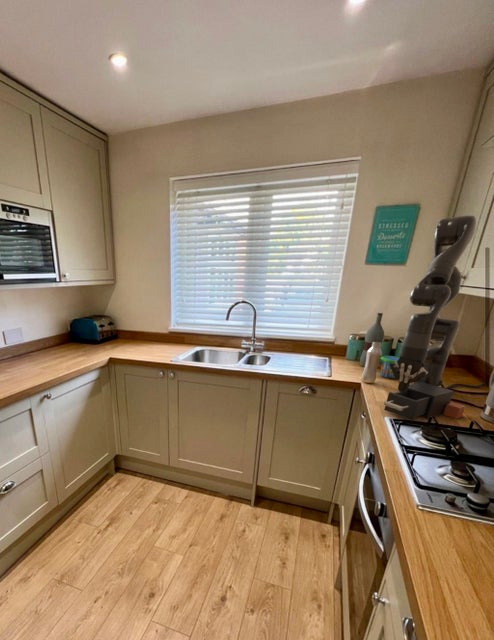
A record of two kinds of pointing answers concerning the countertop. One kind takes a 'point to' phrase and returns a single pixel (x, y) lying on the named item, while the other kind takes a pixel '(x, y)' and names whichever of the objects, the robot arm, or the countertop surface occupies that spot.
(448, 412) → the block
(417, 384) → the cabinet
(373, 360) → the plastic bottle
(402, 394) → the drawer
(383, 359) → the snack cup
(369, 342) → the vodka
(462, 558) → the countertop surface
